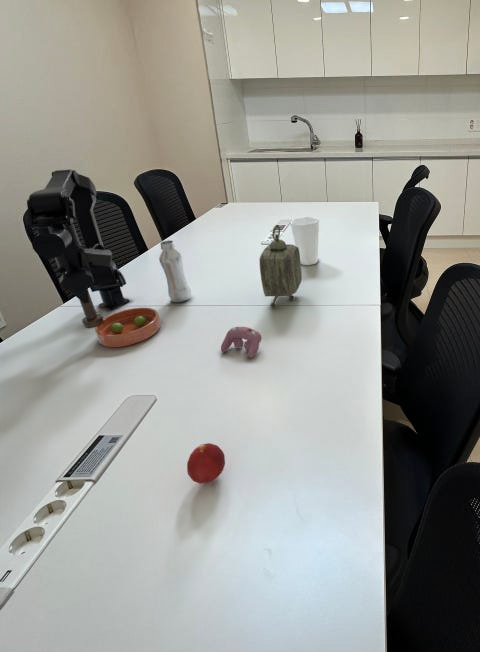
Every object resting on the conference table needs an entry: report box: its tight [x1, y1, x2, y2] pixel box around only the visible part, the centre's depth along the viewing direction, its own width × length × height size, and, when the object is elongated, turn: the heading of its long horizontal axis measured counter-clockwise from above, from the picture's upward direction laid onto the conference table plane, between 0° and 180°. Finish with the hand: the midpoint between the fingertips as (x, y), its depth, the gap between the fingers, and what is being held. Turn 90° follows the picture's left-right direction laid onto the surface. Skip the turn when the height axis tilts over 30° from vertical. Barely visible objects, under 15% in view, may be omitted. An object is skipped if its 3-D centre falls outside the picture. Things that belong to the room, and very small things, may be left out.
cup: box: [289, 216, 320, 266], centre depth 151 cm, size 11×10×17 cm
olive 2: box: [134, 316, 146, 327], centre depth 111 cm, size 3×3×3 cm
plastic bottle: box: [158, 240, 192, 303], centre depth 123 cm, size 6×7×20 cm
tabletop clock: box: [259, 224, 303, 309], centre depth 120 cm, size 14×9×25 cm, turn 178°
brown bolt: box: [79, 290, 104, 329], centre depth 100 cm, size 4×4×14 cm
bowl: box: [94, 307, 162, 348], centre depth 108 cm, size 15×15×4 cm
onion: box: [186, 442, 226, 484], centre depth 64 cm, size 6×6×8 cm
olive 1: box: [110, 323, 123, 334], centre depth 108 cm, size 3×3×3 cm
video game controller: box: [220, 326, 262, 359], centre depth 100 cm, size 10×5×7 cm, turn 71°
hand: (86, 300), depth 100 cm, fingers closed on brown bolt, 2 cm apart
